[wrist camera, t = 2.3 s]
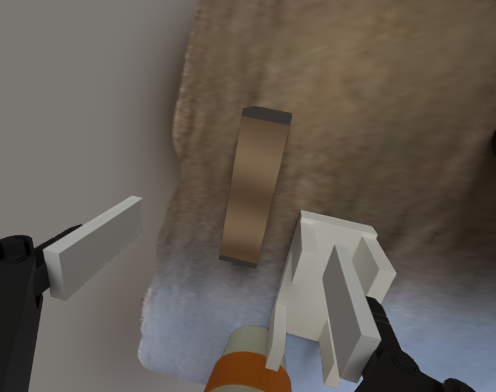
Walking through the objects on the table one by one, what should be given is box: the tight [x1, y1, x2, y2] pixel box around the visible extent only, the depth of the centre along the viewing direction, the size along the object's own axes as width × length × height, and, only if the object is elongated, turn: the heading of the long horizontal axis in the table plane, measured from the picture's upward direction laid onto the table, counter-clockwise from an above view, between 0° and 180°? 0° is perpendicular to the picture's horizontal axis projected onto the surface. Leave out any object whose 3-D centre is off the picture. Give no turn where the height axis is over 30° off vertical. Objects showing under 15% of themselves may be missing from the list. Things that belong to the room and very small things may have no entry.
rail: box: [219, 106, 292, 268], centre depth 26 cm, size 15×4×7 cm, turn 170°
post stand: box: [265, 210, 396, 389], centre depth 29 cm, size 18×8×8 cm, turn 170°
